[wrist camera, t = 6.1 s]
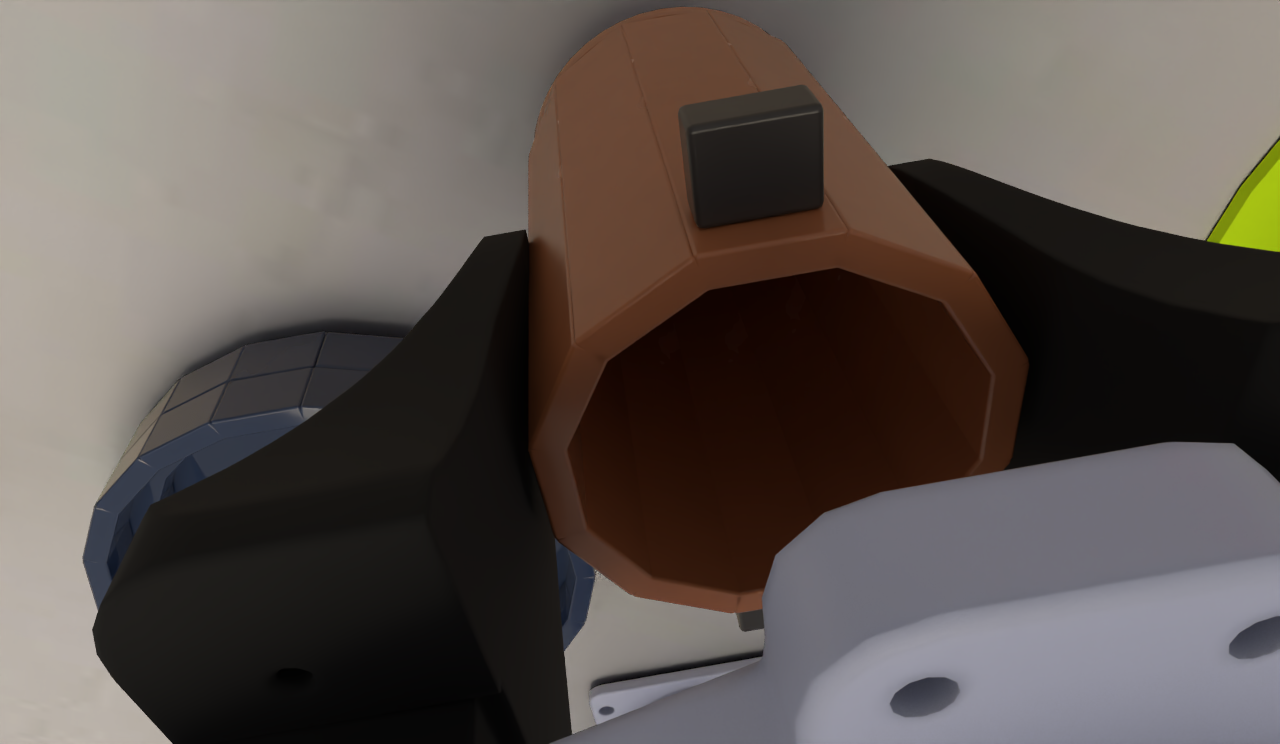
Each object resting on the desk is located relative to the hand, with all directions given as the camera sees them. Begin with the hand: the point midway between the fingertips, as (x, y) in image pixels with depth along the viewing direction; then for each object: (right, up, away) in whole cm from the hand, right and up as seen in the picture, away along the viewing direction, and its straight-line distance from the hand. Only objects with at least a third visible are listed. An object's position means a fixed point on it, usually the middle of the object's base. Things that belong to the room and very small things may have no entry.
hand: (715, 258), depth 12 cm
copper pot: (0, +2, +3) cm, 4 cm away
